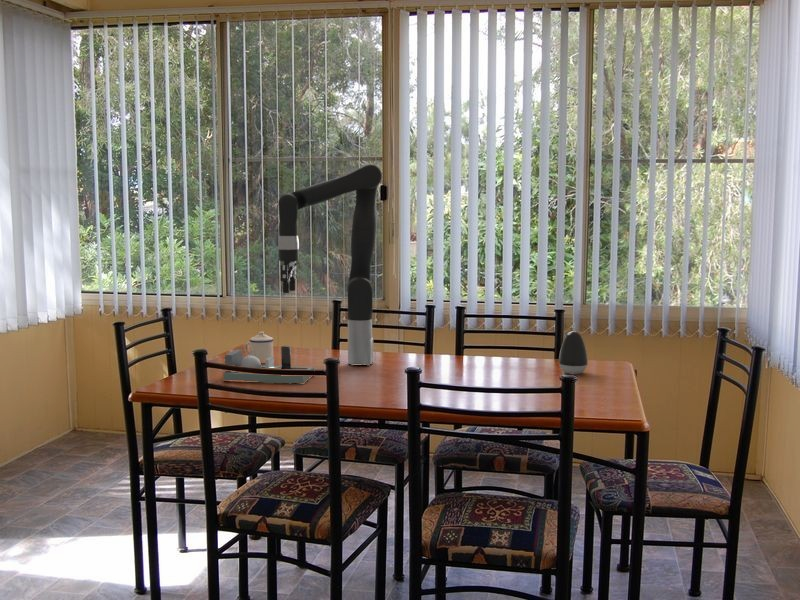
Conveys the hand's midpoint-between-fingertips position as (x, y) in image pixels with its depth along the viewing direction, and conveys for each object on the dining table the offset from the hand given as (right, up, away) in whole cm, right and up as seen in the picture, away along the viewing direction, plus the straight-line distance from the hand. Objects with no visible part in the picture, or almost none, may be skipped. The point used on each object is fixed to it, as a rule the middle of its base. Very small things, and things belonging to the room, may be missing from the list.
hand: (289, 291), depth 308 cm
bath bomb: (-11, -31, -18) cm, 37 cm away
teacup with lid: (-14, -27, +13) cm, 33 cm away
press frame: (-4, -30, -19) cm, 36 cm away
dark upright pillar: (-1, -30, -20) cm, 36 cm away
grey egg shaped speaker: (+103, -30, -10) cm, 108 cm away
